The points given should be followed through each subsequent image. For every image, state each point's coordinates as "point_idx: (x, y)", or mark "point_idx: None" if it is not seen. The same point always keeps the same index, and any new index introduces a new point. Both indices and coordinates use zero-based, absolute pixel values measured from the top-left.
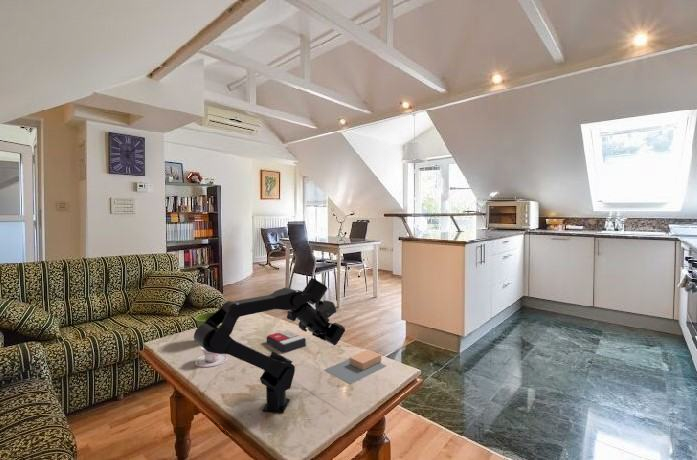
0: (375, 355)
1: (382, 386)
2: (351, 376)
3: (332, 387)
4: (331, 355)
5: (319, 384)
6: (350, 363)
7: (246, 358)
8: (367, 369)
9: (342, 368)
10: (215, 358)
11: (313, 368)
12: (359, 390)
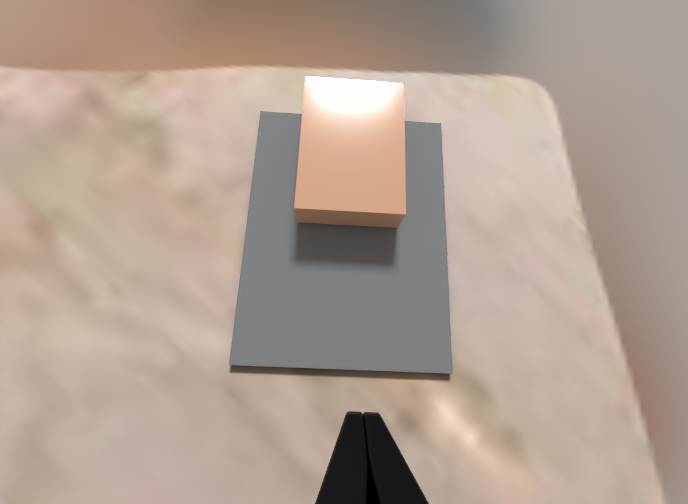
0: (387, 105)
1: (553, 270)
2: (397, 309)
3: None
4: (136, 205)
5: None
6: (305, 221)
7: None
8: None
9: (300, 279)
10: None
11: (158, 387)
12: (514, 375)
